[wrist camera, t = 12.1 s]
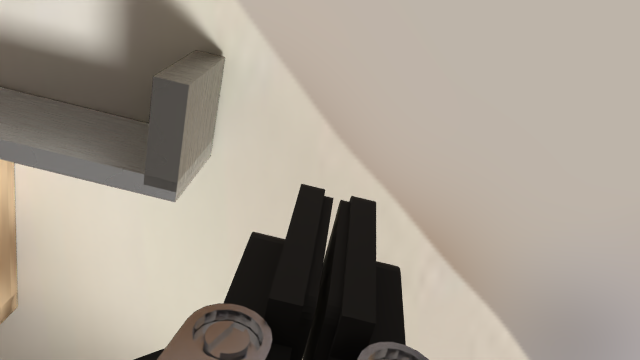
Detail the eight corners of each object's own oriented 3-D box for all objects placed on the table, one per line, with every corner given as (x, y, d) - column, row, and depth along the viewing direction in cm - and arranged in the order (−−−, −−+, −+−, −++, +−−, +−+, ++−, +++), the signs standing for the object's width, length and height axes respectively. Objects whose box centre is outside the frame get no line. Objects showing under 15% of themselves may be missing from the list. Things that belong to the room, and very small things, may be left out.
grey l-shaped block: (210, 156, 23) (175, 202, 19) (-13, 101, 23) (-96, 135, 19) (225, 57, 21) (189, 85, 17) (-18, -3, 21) (-111, 11, 17)
